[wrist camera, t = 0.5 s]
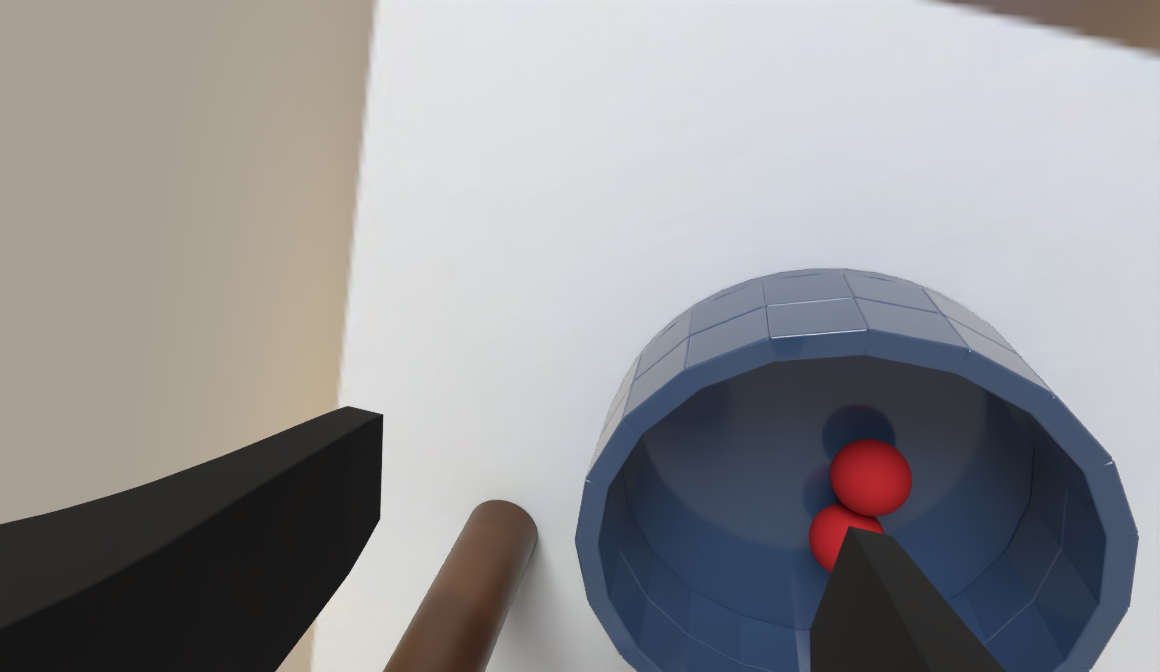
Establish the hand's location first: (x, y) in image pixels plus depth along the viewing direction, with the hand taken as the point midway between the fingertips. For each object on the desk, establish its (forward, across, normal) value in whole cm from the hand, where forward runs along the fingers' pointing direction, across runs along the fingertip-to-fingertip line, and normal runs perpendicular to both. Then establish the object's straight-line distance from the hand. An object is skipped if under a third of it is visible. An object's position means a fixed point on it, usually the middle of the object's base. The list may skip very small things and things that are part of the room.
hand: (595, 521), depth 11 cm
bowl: (+10, -5, +4) cm, 12 cm away
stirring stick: (+10, +4, +9) cm, 14 cm away
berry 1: (+8, -6, +3) cm, 11 cm away
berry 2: (+8, -6, +5) cm, 11 cm away
